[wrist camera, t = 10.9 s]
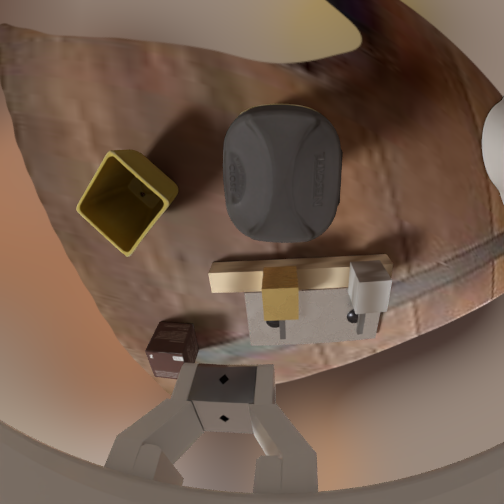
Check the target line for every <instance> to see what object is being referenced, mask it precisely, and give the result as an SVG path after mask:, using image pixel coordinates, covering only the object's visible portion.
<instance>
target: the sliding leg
mask: <svg viewBox="0 0 504 504" xmlns="http://www.w3.org/2000/svg"><path fill="white" fill-rule="evenodd" d="M261 290H262V301H263V312H264V321H275V320H279V327H280V339H286V325H285V320H299V291H298V278H297V269H296V266H280V267H264V268H263V279H262V289H261Z"/></svg>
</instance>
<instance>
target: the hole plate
mask: <svg viewBox="0 0 504 504" xmlns="http://www.w3.org/2000/svg"><path fill="white" fill-rule="evenodd" d="M298 291H299V320H285V325H286V339H280V327H279V320H275V321H264V312H263V301H262V291H258V292H245V293H244V294H245V302H246V310H247V318H248V326H249V333H250V341H251V345H288V344H309V343H325V342H339V341H351V340H362V339H371V338H375V337H376V332H377V327H378V322H379V317H380V312H376V313H366V316H365V322H364V328H363V334H359V335H357V333H356V328H357V321H358V314H355V311H354V308H353V305H352V302H351V299H350V296H349V293H348V287H340V288H323V289H304V290H298Z"/></svg>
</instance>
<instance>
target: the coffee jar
mask: <svg viewBox="0 0 504 504" xmlns="http://www.w3.org/2000/svg"><path fill="white" fill-rule="evenodd" d="M342 154H343V152H342V150H341V148H340V141H339V137H338V134H337V132H336V130H335V128H334V127H333V125H332V124H331V123H330V122H329V120H327V119H326V118H325V117H324V116H323V115H322V114H320V113H319V112H317V111H315V110H313V109H311V108H308V107H305V106H300V105H291V104H266V105H259V106H254V107H251V108H249V109H247V110H245V111H244V112H242V113H241V114H240V115H239V116H238V117H237V118H236V119H235V120H234V121H233V123H232V124H231V126H230V127H229V129H228V131H227V133H226V136H225V139H224V148H223V181H224V191H225V199H226V207H227V211H228V215H229V217H230V219H231V221H232V222H233V224H234V225H235V226H236V228H237V229H238V230H239V231H240V232H242V233H243V234H244V235H246V236H248V237H250V238H251V239H254V240H259V241H266V242H281V243H292V242H306V241H310V240H312V239H314V238H316V237H318V236H320V235H321V234H322V233H324V232H325V231H326V230H327V229H328V227H329V226H330V225H331V223H332V221H333V219H334V217H335V214H336V211H337V206H338V205H339V203H340V187H341V170H342Z"/></svg>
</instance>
